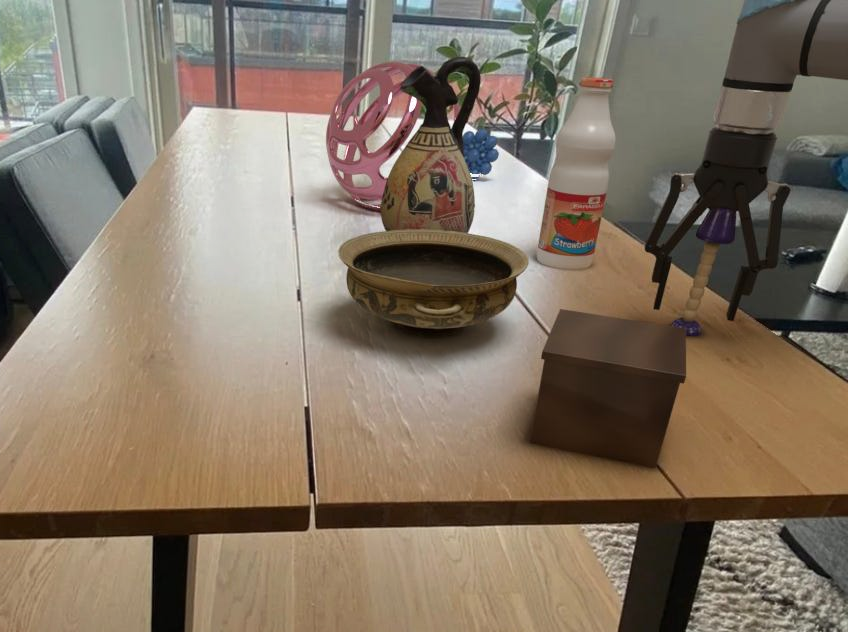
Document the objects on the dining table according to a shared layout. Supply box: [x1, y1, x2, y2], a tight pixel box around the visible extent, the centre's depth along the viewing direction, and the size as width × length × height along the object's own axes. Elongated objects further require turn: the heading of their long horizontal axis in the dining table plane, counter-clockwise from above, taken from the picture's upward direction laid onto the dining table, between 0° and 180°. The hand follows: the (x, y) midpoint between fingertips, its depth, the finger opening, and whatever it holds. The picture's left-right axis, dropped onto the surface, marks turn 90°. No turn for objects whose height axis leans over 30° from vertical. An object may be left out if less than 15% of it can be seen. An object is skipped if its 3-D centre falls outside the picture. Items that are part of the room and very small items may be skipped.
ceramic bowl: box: [337, 229, 530, 338], centre depth 99 cm, size 30×24×10 cm
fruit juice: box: [536, 76, 617, 271], centre depth 123 cm, size 9×9×28 cm
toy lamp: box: [669, 208, 737, 338], centre depth 100 cm, size 5×5×17 cm
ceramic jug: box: [379, 56, 482, 233], centre depth 123 cm, size 17×15×30 cm
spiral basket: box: [325, 60, 461, 212], centre depth 154 cm, size 28×28×27 cm
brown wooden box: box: [529, 308, 687, 469], centre depth 76 cm, size 13×13×10 cm
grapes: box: [462, 128, 500, 180], centre depth 185 cm, size 12×7×12 cm, turn 71°
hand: (692, 311), depth 103 cm, fingers open, 9 cm apart
